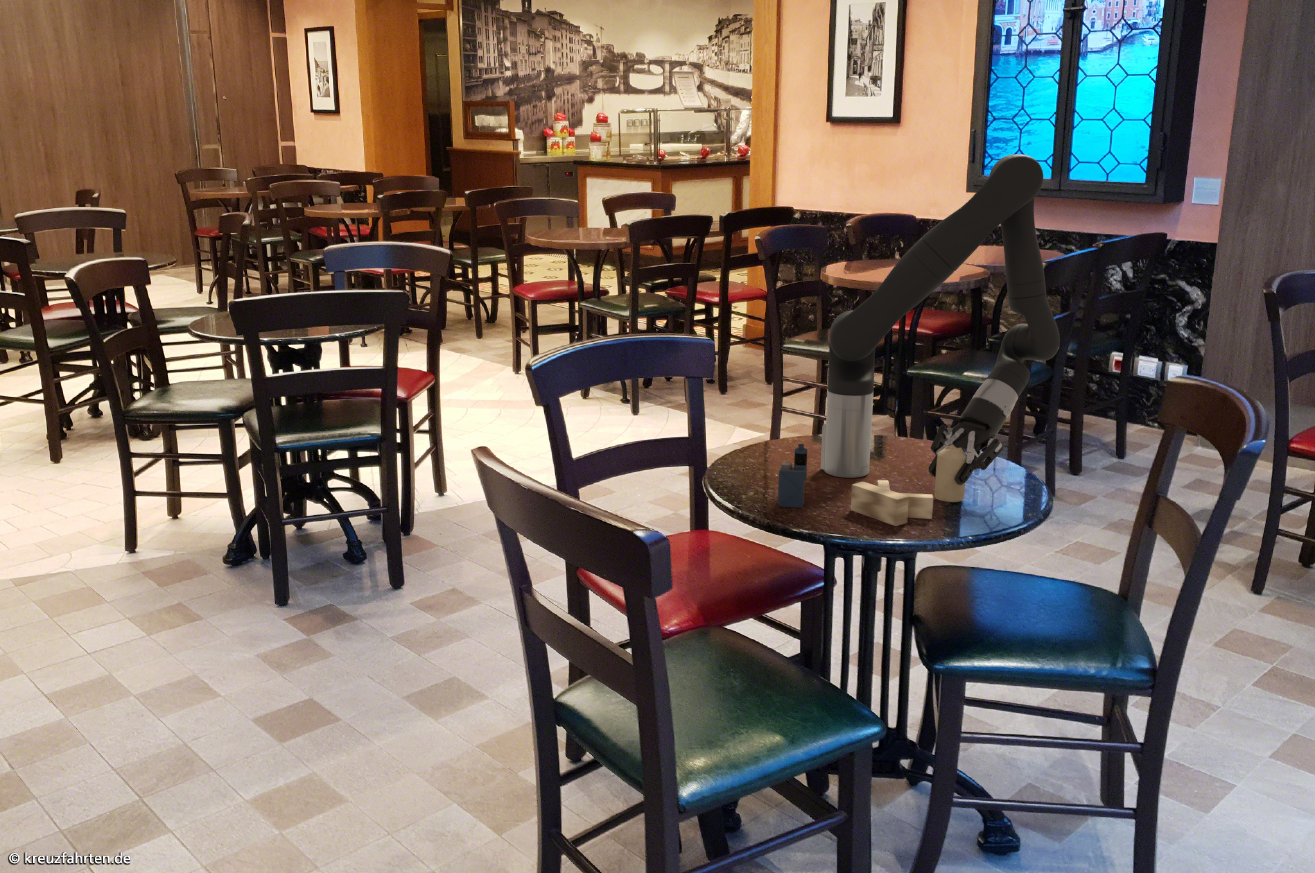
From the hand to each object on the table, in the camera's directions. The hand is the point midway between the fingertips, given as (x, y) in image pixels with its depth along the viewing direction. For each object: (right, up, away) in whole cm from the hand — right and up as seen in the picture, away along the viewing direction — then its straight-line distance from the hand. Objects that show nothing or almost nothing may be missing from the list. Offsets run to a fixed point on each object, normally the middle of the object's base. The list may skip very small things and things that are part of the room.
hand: (944, 478), depth 206 cm
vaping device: (-29, -5, 0) cm, 29 cm away
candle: (+1, -4, +2) cm, 5 cm away
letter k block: (-11, -6, -4) cm, 13 cm away
